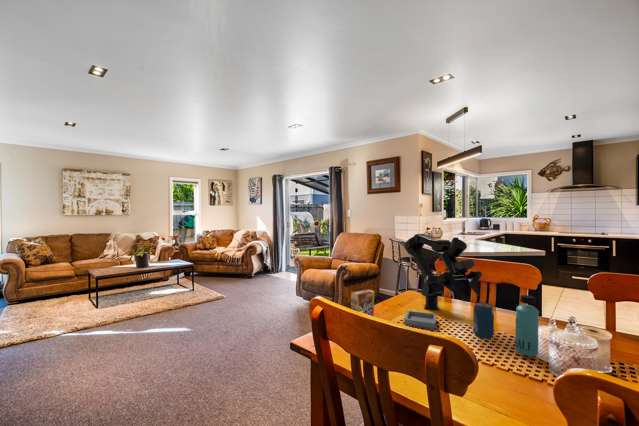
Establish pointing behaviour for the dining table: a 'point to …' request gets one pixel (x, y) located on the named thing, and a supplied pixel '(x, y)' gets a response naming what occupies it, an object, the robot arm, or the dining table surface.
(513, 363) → the dining table surface
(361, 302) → the candy box
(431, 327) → the tray
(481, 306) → the soda can
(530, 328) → the beverage bottle
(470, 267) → the robot arm
